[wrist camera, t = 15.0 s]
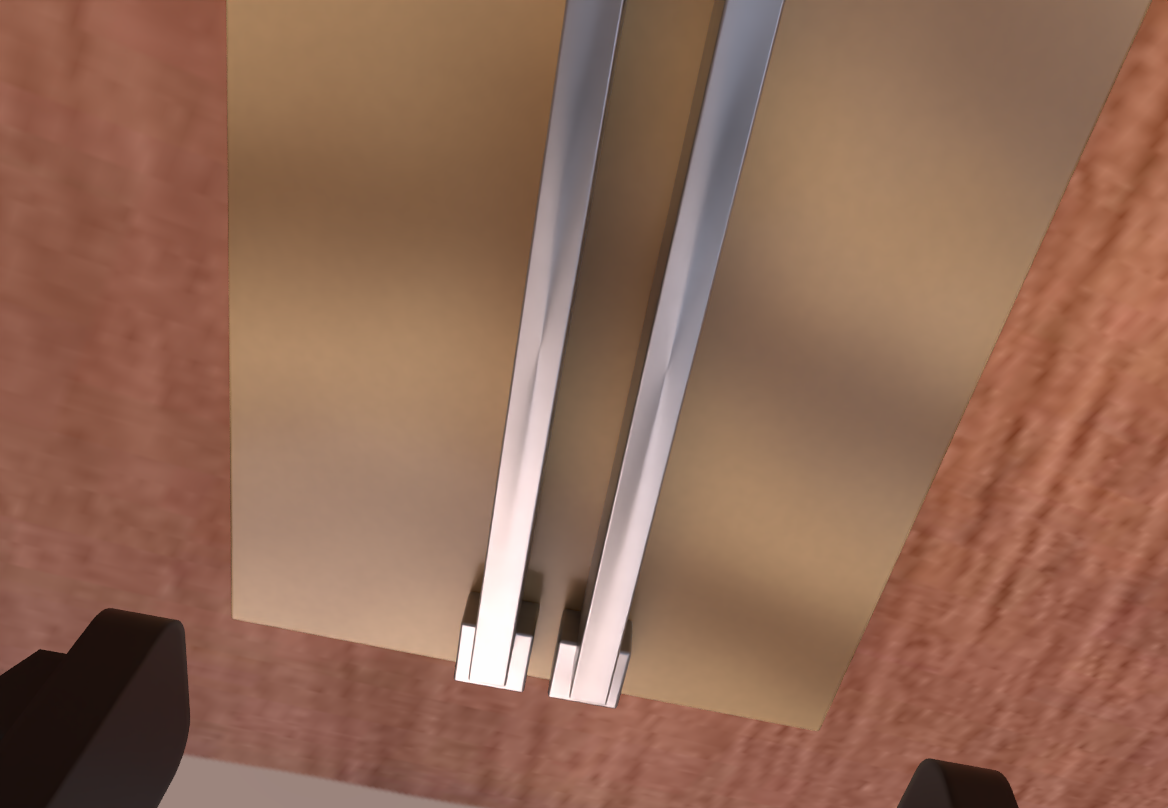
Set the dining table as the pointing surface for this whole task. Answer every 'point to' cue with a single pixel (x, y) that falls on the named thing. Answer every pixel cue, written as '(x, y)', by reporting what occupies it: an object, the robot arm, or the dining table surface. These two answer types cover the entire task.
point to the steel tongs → (664, 359)
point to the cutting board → (627, 312)
